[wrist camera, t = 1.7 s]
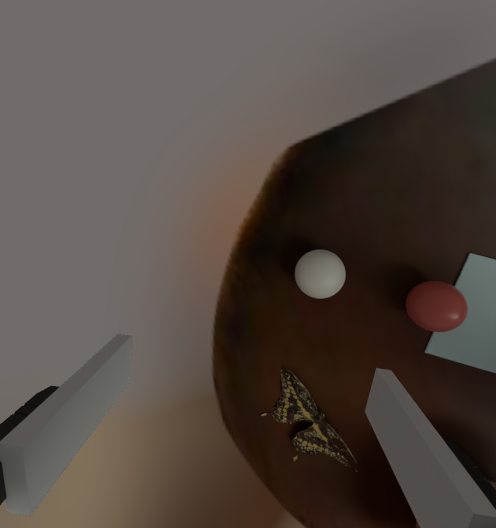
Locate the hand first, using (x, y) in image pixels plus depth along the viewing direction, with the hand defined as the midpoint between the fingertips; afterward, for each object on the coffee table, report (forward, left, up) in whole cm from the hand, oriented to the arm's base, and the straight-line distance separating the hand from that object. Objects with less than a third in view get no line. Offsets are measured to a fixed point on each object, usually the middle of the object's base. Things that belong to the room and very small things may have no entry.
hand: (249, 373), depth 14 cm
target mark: (-30, -2, -23) cm, 38 cm away
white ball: (-6, -2, -20) cm, 21 cm away
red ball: (-20, -2, -20) cm, 28 cm away
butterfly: (-11, +19, -23) cm, 32 cm away
